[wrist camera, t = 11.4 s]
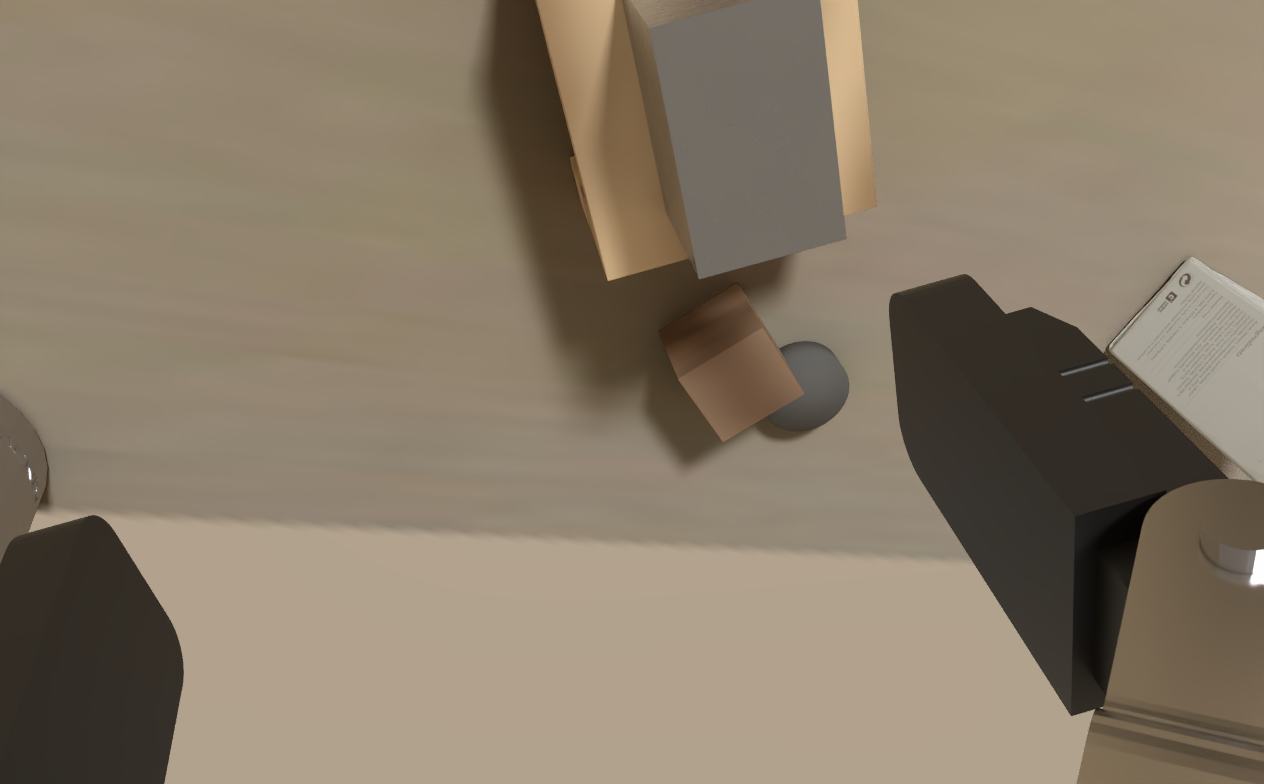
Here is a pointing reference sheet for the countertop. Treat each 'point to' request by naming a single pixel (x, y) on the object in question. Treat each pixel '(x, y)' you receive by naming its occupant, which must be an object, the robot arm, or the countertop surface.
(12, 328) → the countertop surface
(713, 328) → the walnut block
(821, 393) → the rubber puck
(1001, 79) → the countertop surface
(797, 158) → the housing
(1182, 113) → the countertop surface
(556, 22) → the stand
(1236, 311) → the skincare box
